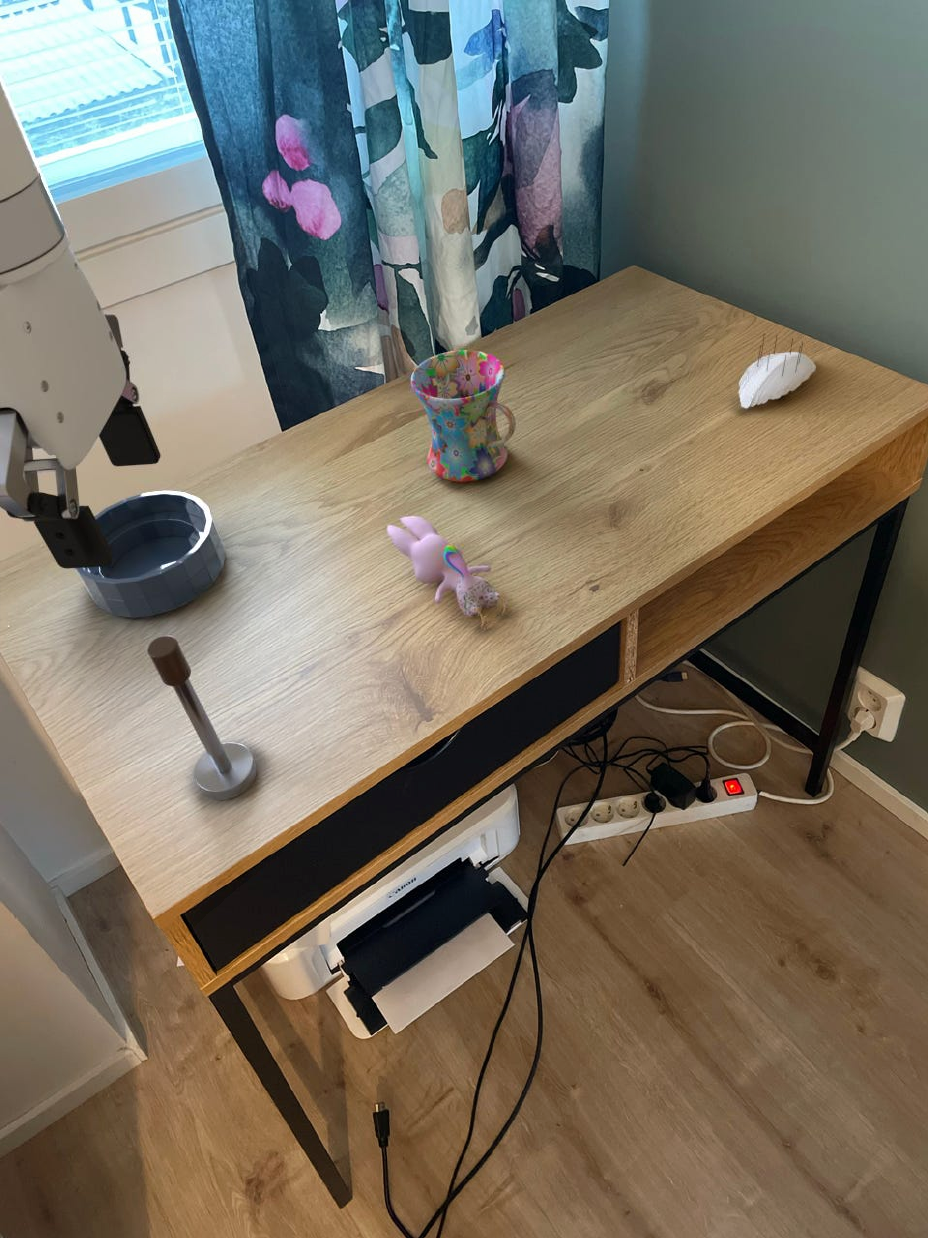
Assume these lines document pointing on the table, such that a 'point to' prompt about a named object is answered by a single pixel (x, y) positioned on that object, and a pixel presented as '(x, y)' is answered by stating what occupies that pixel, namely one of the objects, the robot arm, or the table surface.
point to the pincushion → (774, 376)
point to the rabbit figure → (445, 567)
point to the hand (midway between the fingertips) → (114, 510)
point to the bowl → (155, 554)
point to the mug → (463, 413)
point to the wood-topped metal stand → (204, 728)
